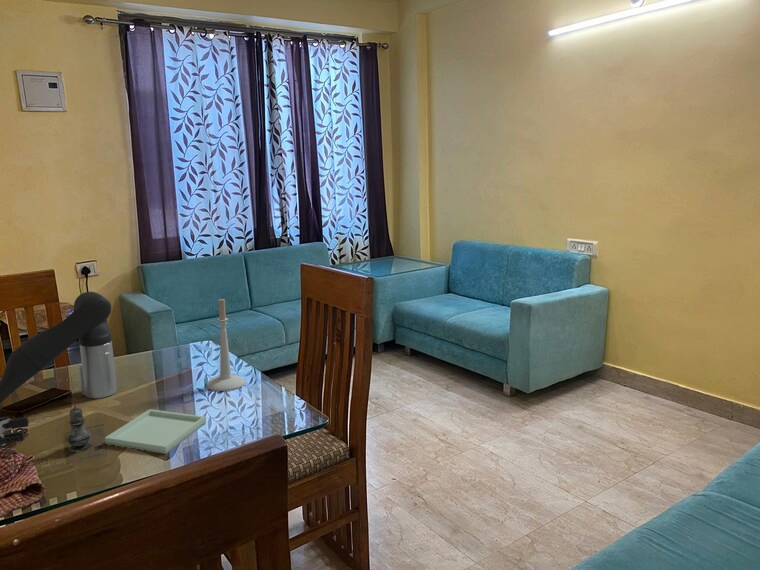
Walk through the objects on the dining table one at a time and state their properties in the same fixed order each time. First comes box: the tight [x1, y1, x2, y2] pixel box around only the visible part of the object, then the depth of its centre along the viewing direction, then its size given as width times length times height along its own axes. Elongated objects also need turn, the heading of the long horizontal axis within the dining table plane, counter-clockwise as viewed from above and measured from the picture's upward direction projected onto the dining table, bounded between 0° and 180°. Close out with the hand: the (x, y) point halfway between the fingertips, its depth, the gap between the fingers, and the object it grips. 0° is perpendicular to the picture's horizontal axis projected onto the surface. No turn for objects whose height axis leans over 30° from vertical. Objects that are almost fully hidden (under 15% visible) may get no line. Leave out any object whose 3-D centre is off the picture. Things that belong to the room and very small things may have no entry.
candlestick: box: [206, 297, 247, 392], centre depth 190 cm, size 13×13×30 cm
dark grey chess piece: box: [65, 404, 92, 453], centre depth 148 cm, size 6×6×12 cm
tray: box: [104, 408, 207, 455], centre depth 157 cm, size 19×19×2 cm
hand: (25, 428), depth 143 cm, fingers open, 8 cm apart
